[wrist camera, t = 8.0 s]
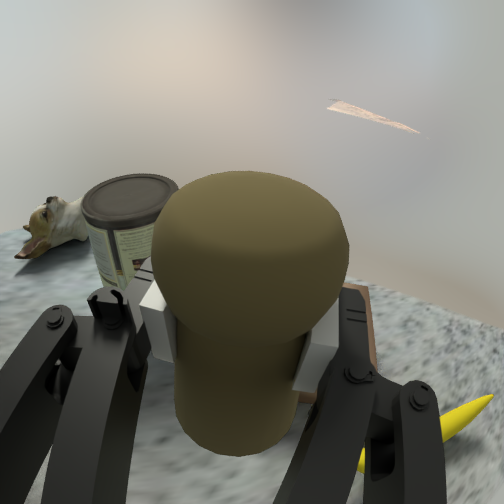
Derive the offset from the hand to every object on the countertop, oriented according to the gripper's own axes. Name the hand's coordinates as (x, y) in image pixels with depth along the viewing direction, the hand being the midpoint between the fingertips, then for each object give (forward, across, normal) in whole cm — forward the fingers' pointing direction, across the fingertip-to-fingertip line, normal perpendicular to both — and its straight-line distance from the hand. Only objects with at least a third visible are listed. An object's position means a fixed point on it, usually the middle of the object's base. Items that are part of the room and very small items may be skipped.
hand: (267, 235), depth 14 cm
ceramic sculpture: (+18, -35, -20) cm, 44 cm away
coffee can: (+12, -15, -20) cm, 28 cm away
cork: (-5, 0, -7) cm, 8 cm away
